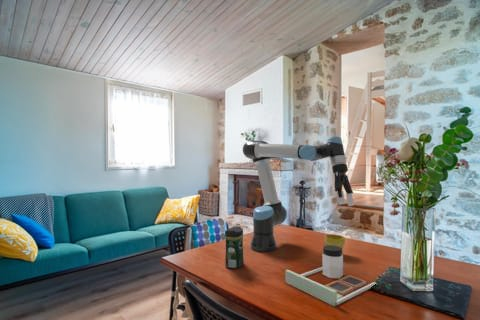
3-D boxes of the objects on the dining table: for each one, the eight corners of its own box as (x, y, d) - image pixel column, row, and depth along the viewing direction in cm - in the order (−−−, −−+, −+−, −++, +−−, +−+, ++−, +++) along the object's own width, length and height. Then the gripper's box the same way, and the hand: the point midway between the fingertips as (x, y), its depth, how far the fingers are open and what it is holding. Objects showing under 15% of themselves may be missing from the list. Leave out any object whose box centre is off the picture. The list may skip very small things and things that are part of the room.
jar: (347, 276, 124) (347, 249, 124) (333, 280, 121) (333, 252, 121) (332, 269, 132) (332, 244, 132) (318, 272, 129) (318, 246, 129)
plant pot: (342, 251, 157) (342, 234, 157) (347, 258, 147) (347, 239, 147) (323, 251, 158) (323, 233, 158) (327, 257, 148) (327, 239, 148)
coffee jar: (231, 260, 144) (230, 224, 144) (245, 263, 141) (245, 225, 141) (222, 267, 135) (222, 229, 135) (237, 270, 132) (237, 230, 132)
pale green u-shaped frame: (327, 267, 135) (327, 256, 135) (376, 285, 116) (376, 272, 116) (285, 282, 119) (285, 270, 119) (334, 306, 100) (334, 292, 100)
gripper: (337, 158, 138) (346, 202, 132) (353, 167, 158) (361, 205, 151) (323, 162, 143) (330, 204, 136) (340, 170, 162) (347, 207, 156)
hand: (347, 205), depth 144 cm, fingers open, 13 cm apart
